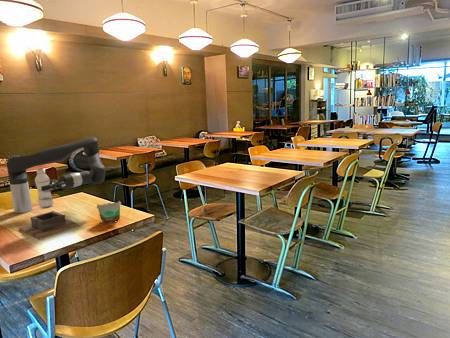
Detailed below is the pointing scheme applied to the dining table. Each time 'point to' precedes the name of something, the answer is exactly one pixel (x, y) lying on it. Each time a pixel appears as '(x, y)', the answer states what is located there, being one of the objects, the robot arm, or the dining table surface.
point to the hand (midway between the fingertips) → (38, 187)
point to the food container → (109, 212)
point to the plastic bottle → (44, 196)
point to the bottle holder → (48, 225)
